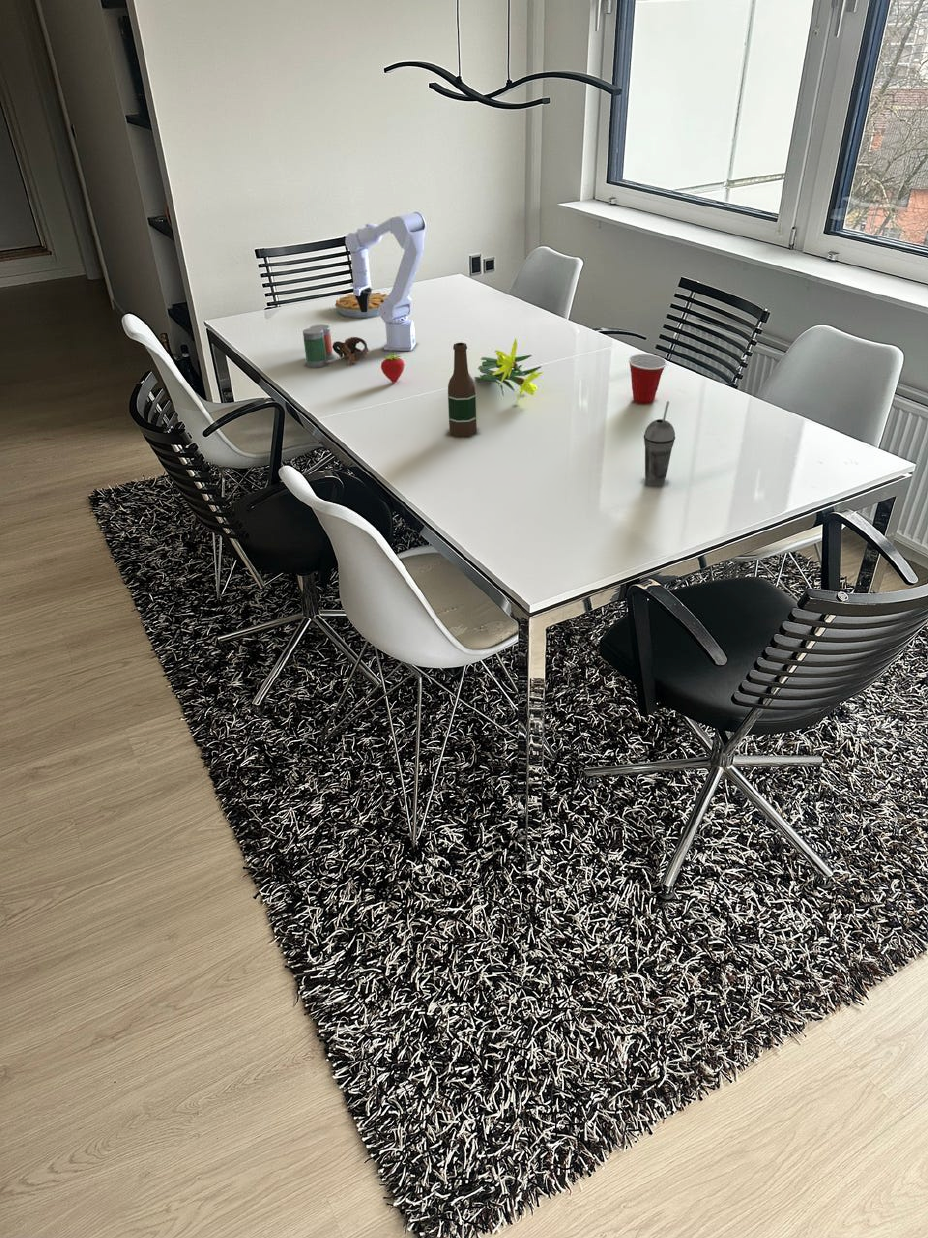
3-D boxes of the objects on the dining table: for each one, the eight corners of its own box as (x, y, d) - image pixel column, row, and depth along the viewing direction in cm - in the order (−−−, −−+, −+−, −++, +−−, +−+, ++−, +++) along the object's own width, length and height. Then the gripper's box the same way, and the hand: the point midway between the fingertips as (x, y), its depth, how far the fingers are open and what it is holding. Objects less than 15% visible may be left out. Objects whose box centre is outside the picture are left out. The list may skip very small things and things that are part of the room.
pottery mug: (369, 355, 298) (371, 337, 291) (364, 376, 294) (366, 358, 286) (333, 346, 297) (335, 328, 290) (328, 367, 292) (329, 349, 285)
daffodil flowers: (517, 374, 279) (565, 379, 248) (483, 406, 278) (527, 415, 247) (485, 331, 272) (530, 330, 240) (450, 363, 271) (491, 366, 240)
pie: (369, 322, 328) (368, 308, 325) (324, 314, 338) (323, 300, 335) (404, 307, 343) (404, 293, 340) (360, 300, 353) (359, 287, 350)
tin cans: (335, 354, 298) (331, 321, 292) (323, 367, 288) (319, 333, 281) (316, 354, 299) (312, 320, 293) (304, 367, 289) (299, 333, 282)
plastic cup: (650, 410, 249) (653, 368, 242) (617, 401, 255) (620, 360, 249) (670, 399, 256) (675, 358, 249) (638, 391, 262) (642, 350, 255)
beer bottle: (481, 428, 243) (479, 340, 229) (472, 439, 237) (469, 349, 223) (454, 425, 245) (450, 338, 231) (444, 436, 239) (440, 347, 225)
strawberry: (378, 382, 275) (376, 350, 269) (400, 377, 278) (398, 345, 272) (386, 387, 271) (384, 355, 265) (409, 383, 274) (407, 350, 268)
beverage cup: (636, 476, 215) (642, 396, 204) (665, 474, 216) (674, 395, 204) (643, 490, 209) (651, 408, 198) (674, 488, 210) (683, 406, 198)
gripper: (355, 264, 305) (358, 305, 312) (343, 275, 293) (347, 317, 301) (375, 265, 304) (378, 305, 311) (363, 275, 292) (367, 317, 300)
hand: (364, 311), depth 306 cm, fingers closed
